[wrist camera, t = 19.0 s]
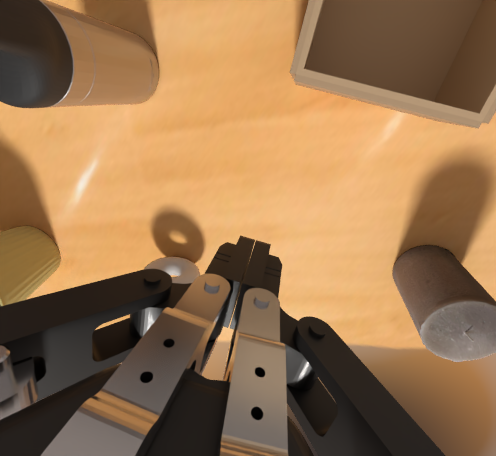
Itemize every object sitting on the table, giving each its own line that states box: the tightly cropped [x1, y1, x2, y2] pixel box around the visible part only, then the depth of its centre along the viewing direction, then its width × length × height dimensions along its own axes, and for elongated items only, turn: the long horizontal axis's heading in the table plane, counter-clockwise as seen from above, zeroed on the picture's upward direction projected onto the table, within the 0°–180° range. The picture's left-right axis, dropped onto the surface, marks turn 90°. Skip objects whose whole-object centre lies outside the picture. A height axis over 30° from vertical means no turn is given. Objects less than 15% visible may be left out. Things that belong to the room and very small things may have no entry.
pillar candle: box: [393, 245, 496, 362], centre depth 40 cm, size 10×10×15 cm
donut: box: [144, 257, 200, 284], centre depth 50 cm, size 10×4×10 cm, turn 84°
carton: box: [290, 0, 496, 128], centre depth 29 cm, size 19×19×12 cm
